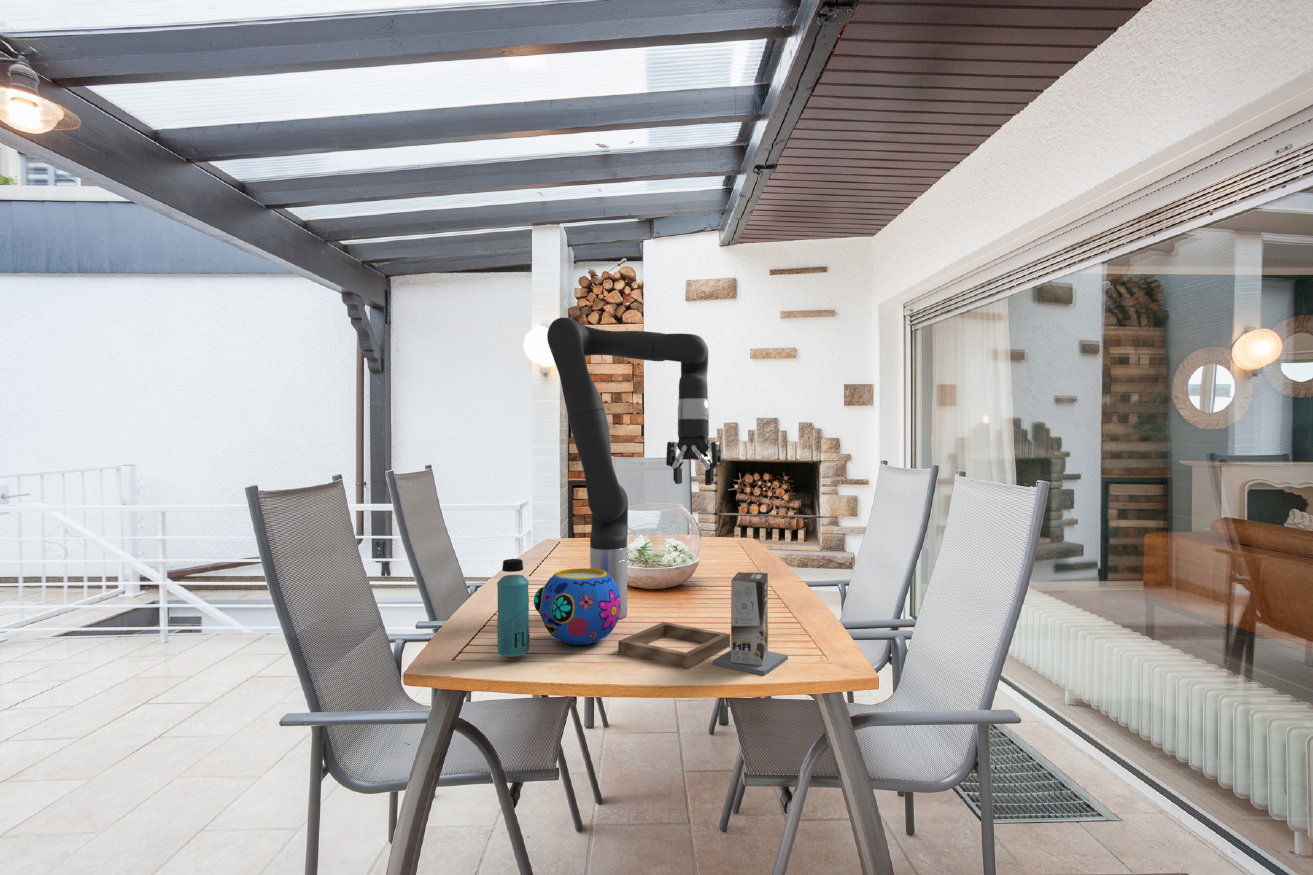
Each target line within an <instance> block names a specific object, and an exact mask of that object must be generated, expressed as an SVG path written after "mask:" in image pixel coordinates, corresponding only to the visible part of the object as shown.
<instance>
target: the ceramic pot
mask: <svg viewBox="0 0 1313 875" xmlns="http://www.w3.org/2000/svg"><path fill="white" fill-rule="evenodd" d="M533 605H534V608H535V611H537V613H539V615H540V617H541V620H542V622H543V625H544V627H545V629H546V630H547V632H548V633H549V635H550V636H552V637H553V638H554V639H556V640H558V641H560V642H562V643H565V644H568V645H574V646H585V645H589V644H594V643H596V642H599V641H601V640H603V639H604V638H607V637H608V636H609V635H610V634H611V633H612V632H613V631H614V628H615V627H616V625H617V623H618V621H619V614H620V607H621V599H620V594H619V590H618V587H617V584H616V583H615V581H614V579H613V578H612V577H611V576H610V575H609V574H608V573H607V572H605V571H603V570H599V569H590V568H588V567H587V568H583V567H582V568H569V569H563V570H559V571H557V572H555V573H554V574H553V575H552V576H551V577H550V578H548V580H547V582H546V583H545V584H544V586H542V587H541V588H538V589H537V591H536V592H535V594H534V597H533Z"/></svg>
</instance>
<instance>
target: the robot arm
mask: <svg viewBox="0 0 1313 875" xmlns="http://www.w3.org/2000/svg"><path fill="white" fill-rule="evenodd" d="M546 336H547V338H546V339H547V343H548V346H549V350H550V352H551V354H552V358H553V361H554V363H555V366H556V369H557V372H558V376H559V379H560V384H561V388H562V390H561V391H562V393H563V394H562V395H563V398H564V400H563V401H564V403H565V409H566V412H567V417H568V422H569V426H570V430H571V433H572V437H573V441H574V443H575V444H574V445H575V447H576V451H577V454H578V457H579V460H580V462H581V466H582V469H583V474H584V480H585V481H584V482H585V487H586V493H587V496H586V497H587V503H588V504H587V505H588V508H589V510H590V512H591V528H590V529H591V530H590V538H589V569H599V570H603V571H605V572H607V573H608V574H609V575H610V576H611V577H612V578H613V579H614V581H615V583H616V584H617V587H618V590H619V594H620V599H621V607H620V614H619V619H624V618H625V617H627V616H628V534H629V533H628V531H629V529H628V528H629V527H628V525H629V524H628V523H629V522H628V521H629V519H628V518H629V517H628V516H629V515H628V514H629V511H628V510H629V502H628V501H629V500H628V495H627V492H626V490H625V489H624V488H623V487H622V486H621V485H620V483H619V481H618V478H617V474H616V471H615V468H614V465H613V461H612V460H613V459H612V448H611V435H610V427H609V423H608V419H607V415H606V414H607V413H606V410H605V406H604V404H603V400H602V398H601V395H600V393H599V391H598V389H597V386H596V384H595V383H594V381H593V379H592V377H591V374H590V371H589V369H588V365H587V361H586V360H587V359H586V357H587V356H611V357H618V358H619V357H620V358H626V359H633V360H640V361H641V360H642V361H650V362H665V361H671V362H679V363H680V378H679V381H678V405H677V436H678V442H676V441H668V442H667V443H666V456H665V457H666V458H665V460H666V461H665V462H666V463H665V465H666V466H667V467H671V468H672V469H673V475H672V476H673V478H672V479H673V482H674V483H675V485H680V484H683V468H682V467H683V465H684V464H685V463H686V462H687V461H688V460H695V461H696V460H699V461H700V463H702V464H703V466H704V468H705V470H704V486H712V485H713V483H714V481H715V477H714V476H715V472H714V471H715V469H717V468H719V467H722V465H723V464H722V448H721V442H720V441H712V442H710V441H709V432H710V430H709V428H710V427H709V426H710V420H709V419H710V417H709V416H710V413H709V410H710V409H709V403H708V402H709V401H708V399H709V398H708V397H709V396H708V393H709V392H708V390H709V389H708V378H707V376H708V370H709V369H708V368H709V348H708V344H707V343H706V341H705V340H704V339H703V338H702V337H701V336H699V335H698V334H694V333H693V334H692V333H663V332H655V331H644V330H643V331H642V330H618V331H617V330H615V331H614V330H606V329H605V330H603V329H599V328H595V327H591V326H587V325H585V324H582V323H581V322H579V321H577V320H575V319H573V318H569V317H559V318H556V319H555V320H553V321H552V322H551V323H550V325H549V327H548V330H547V335H546ZM677 450H679V452H678V454H677ZM708 450H710V451H711V456H710V455H709V453H708ZM619 619H618V620H619Z"/></svg>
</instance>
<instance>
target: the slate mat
mask: <svg viewBox="0 0 1313 875" xmlns="http://www.w3.org/2000/svg"><path fill="white" fill-rule="evenodd" d="M788 659H789V655H788V654H786V653H785V654H784V653H780V652H774V651H769V650H768V653H767V655H766V658H765V660H764V663H763V665H761V666H759V665H751V664H741V663H732V662H731V649H730V650H728V651H726V652H724V653H723V654H721V655H719V656H718V657H716V658H714V659H713V660H712V665H715V666H720V667H723V668H729V669H733V670H738V671H739V670H740V671H741V672H742V671H743V672H748V673H752V674H756V675H761V676H766V675H768V674H769V673H771V672H772V671H773V670H774V669H776V668H778V666H780V665H781V664H783V663H784V662H786V661H787V660H788Z"/></svg>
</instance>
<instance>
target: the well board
mask: <svg viewBox="0 0 1313 875" xmlns="http://www.w3.org/2000/svg"><path fill="white" fill-rule="evenodd" d="M666 636H667V637H672V638H676V639H681V640H687V641H691V642H695V643H699V644H700V643H701V644H700V645H698V646H696V647H694V648H692V649H690V650H689V651H687V652H685V651H680V650H676V649H670V648H666V647H661V646H657V645H654V644H653V645H652V644H651V643H652V642H655V641H658V640H660V639H661V638H663V637H666ZM617 645H618V648H617V653H618V654H620V653H622V654H621V655H624V654H625V656H629V657H633V656H635V658H637V657H638V658H639V659H642V658H643V660H645V661H652V662H656V663H660V664H664V665H668V666H673V667H678V668H682V669H686V670H691V669H692V668H693V667H696V666H697V665H699V664H701V663H702V662H704V661H705V660H708V659H710V658H711V657H714V656H715V655H717V654H718V653H720V652H722V651H723V650H725V649H728V648H730V647H731V633H726V632H720V631H716V630H715V631H714V630H710V629H704V628H699V627H693V626H689V625H683V624H677V623H671V622H667V621H662V622H660V623H658V624H656V625H654V626H653V625H652V626H651V627H649V628H646V629H644V630H641V631H639V632H636V633H634V634H632V635H629V636H626V637H625V638H622V639H620V640H618V642H617Z"/></svg>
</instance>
